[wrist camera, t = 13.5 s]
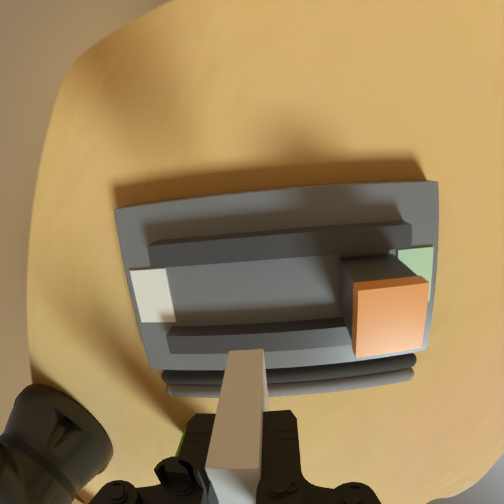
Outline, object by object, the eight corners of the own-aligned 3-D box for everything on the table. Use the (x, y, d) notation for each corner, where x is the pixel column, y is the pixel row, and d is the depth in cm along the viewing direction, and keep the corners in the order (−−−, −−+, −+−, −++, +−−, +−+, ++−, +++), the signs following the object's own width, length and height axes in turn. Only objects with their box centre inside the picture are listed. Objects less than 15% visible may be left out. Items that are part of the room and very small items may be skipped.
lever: (338, 311, 23) (355, 357, 17) (337, 257, 22) (358, 290, 16) (391, 305, 23) (421, 347, 17) (393, 252, 22) (429, 282, 16)
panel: (157, 357, 28) (144, 379, 25) (125, 205, 25) (103, 213, 21) (418, 338, 26) (433, 359, 22) (426, 180, 22) (448, 183, 19)
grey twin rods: (170, 390, 29) (166, 398, 28) (163, 365, 28) (158, 374, 27) (410, 374, 27) (414, 382, 26) (414, 348, 26) (419, 356, 25)
